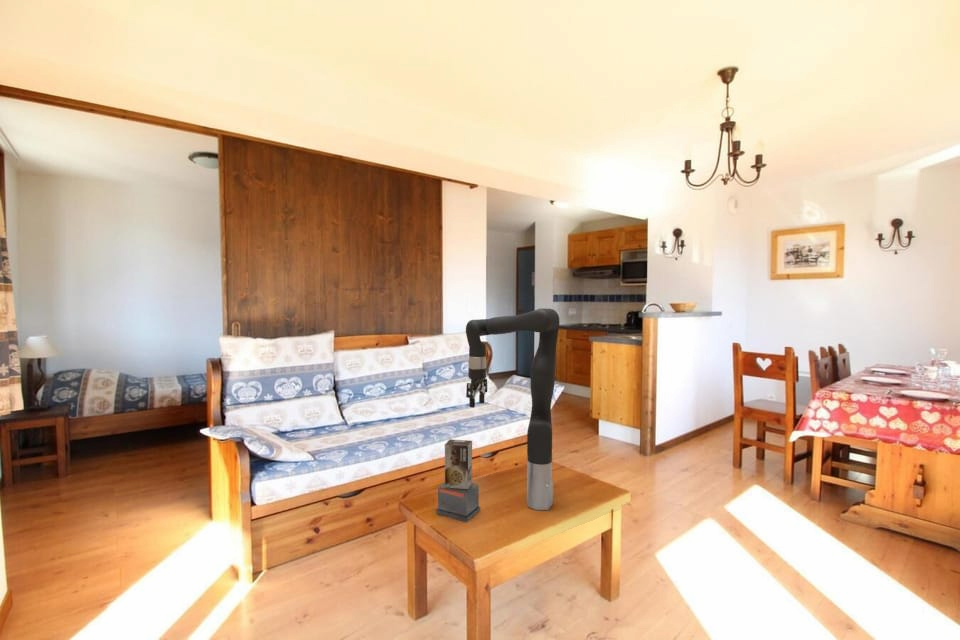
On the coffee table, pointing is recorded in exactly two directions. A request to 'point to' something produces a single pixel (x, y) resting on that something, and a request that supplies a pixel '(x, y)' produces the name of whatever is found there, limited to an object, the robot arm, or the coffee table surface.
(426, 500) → the coffee table surface
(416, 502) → the coffee table surface
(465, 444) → the coffee box
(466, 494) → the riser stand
